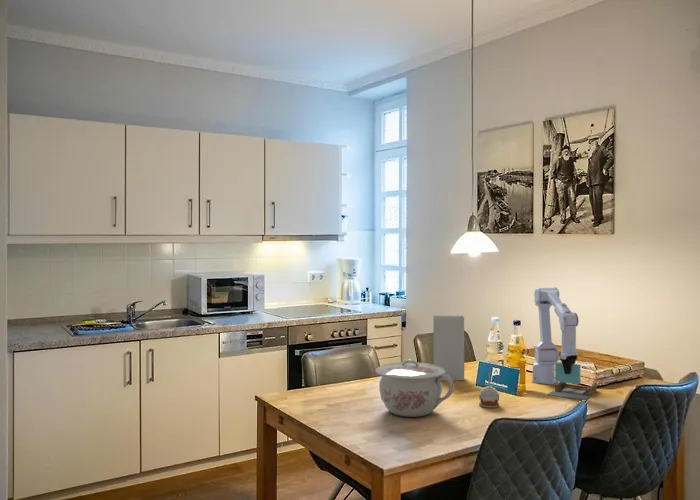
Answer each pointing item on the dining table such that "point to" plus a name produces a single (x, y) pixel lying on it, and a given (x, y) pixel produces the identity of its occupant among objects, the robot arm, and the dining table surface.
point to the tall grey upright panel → (449, 345)
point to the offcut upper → (574, 391)
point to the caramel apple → (489, 396)
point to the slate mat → (568, 395)
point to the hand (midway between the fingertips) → (568, 373)
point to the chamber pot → (412, 387)
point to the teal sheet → (568, 378)
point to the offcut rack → (589, 390)
